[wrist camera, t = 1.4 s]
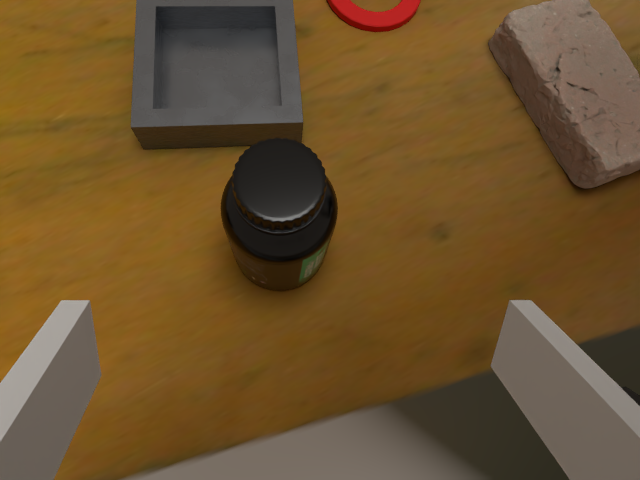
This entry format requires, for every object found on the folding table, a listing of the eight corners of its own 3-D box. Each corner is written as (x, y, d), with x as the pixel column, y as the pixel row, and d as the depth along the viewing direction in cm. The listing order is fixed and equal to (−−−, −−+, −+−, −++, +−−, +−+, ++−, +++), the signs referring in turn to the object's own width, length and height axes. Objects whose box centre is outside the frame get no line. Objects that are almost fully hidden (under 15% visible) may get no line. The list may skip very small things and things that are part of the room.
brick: (481, 44, 42) (504, 4, 38) (555, 22, 44) (586, -19, 39) (572, 199, 38) (611, 174, 33) (650, 168, 40) (697, 141, 35)
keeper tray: (291, 21, 41) (292, -9, 38) (301, 143, 37) (303, 122, 34) (148, 22, 39) (137, -9, 36) (143, 149, 36) (130, 127, 33)
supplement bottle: (332, 284, 34) (359, 232, 22) (240, 299, 33) (218, 252, 21) (316, 200, 36) (333, 112, 24) (229, 212, 35) (203, 127, 23)
